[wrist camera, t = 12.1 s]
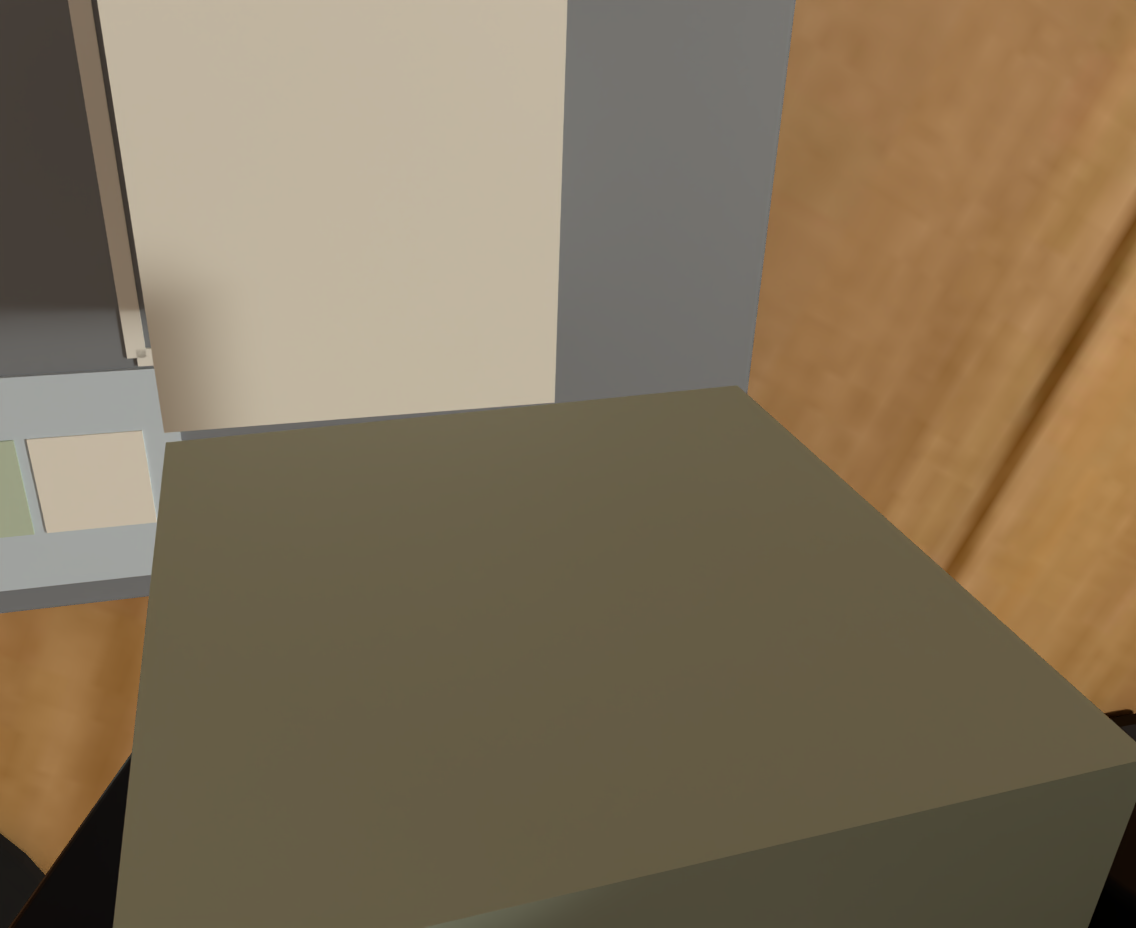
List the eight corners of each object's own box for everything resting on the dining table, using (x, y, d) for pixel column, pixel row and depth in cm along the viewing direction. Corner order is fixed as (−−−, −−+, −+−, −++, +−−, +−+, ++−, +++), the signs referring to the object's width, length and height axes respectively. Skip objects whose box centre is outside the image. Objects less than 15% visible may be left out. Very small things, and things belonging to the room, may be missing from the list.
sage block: (694, 784, 12) (958, 1267, 8) (242, 879, 10) (256, 1528, 6) (738, 385, 9) (1152, 757, 5) (166, 442, 8) (104, 1002, 4)
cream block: (481, 294, 18) (554, 402, 14) (184, 308, 17) (164, 432, 13) (481, -15, 16) (567, 0, 12) (138, -26, 15) (95, -14, 10)
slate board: (708, 502, 23) (732, 531, 22) (-90, 588, 19) (-112, 629, 18) (808, -396, 16) (851, -422, 15) (-437, -574, 12) (-509, -628, 11)
